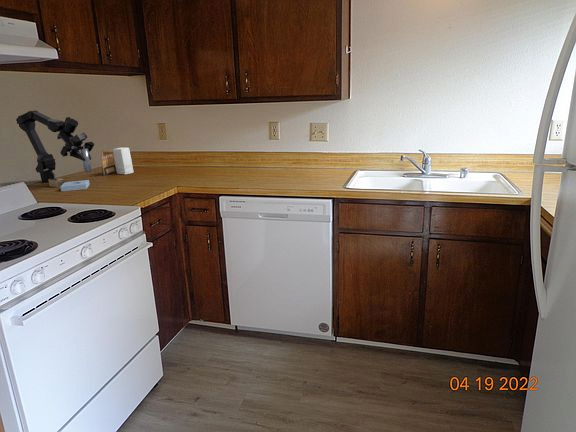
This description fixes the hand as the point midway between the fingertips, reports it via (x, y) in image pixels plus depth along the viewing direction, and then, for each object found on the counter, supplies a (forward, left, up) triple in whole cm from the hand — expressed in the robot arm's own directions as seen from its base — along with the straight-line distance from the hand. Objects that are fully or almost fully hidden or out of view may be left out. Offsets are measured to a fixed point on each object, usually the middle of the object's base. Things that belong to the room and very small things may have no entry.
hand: (87, 159), depth 227 cm
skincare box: (+16, +25, -14) cm, 33 cm away
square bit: (-18, +5, -14) cm, 24 cm away
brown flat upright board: (+7, +28, -14) cm, 32 cm away
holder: (-7, -6, -13) cm, 16 cm away
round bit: (-1, +1, -7) cm, 7 cm away
